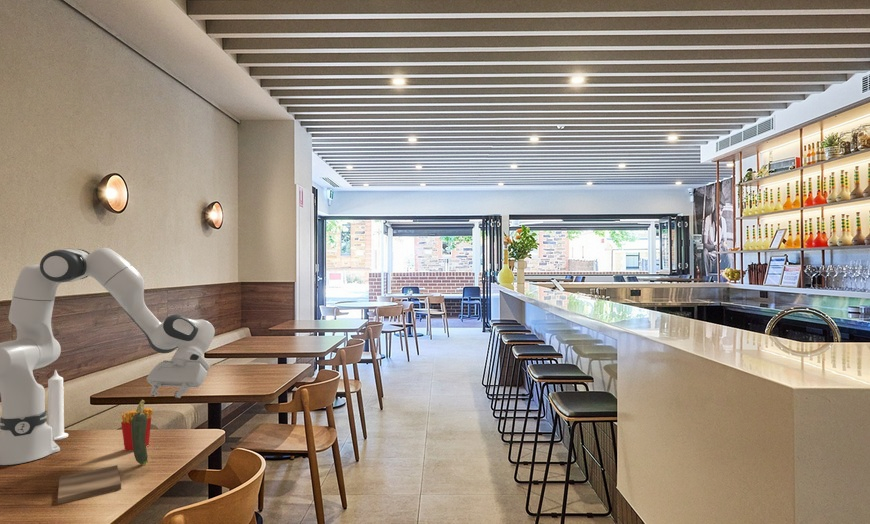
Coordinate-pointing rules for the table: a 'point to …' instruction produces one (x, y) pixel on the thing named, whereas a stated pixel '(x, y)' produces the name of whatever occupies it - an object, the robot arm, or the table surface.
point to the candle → (56, 406)
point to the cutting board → (88, 484)
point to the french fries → (127, 427)
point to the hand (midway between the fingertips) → (164, 396)
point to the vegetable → (139, 434)
